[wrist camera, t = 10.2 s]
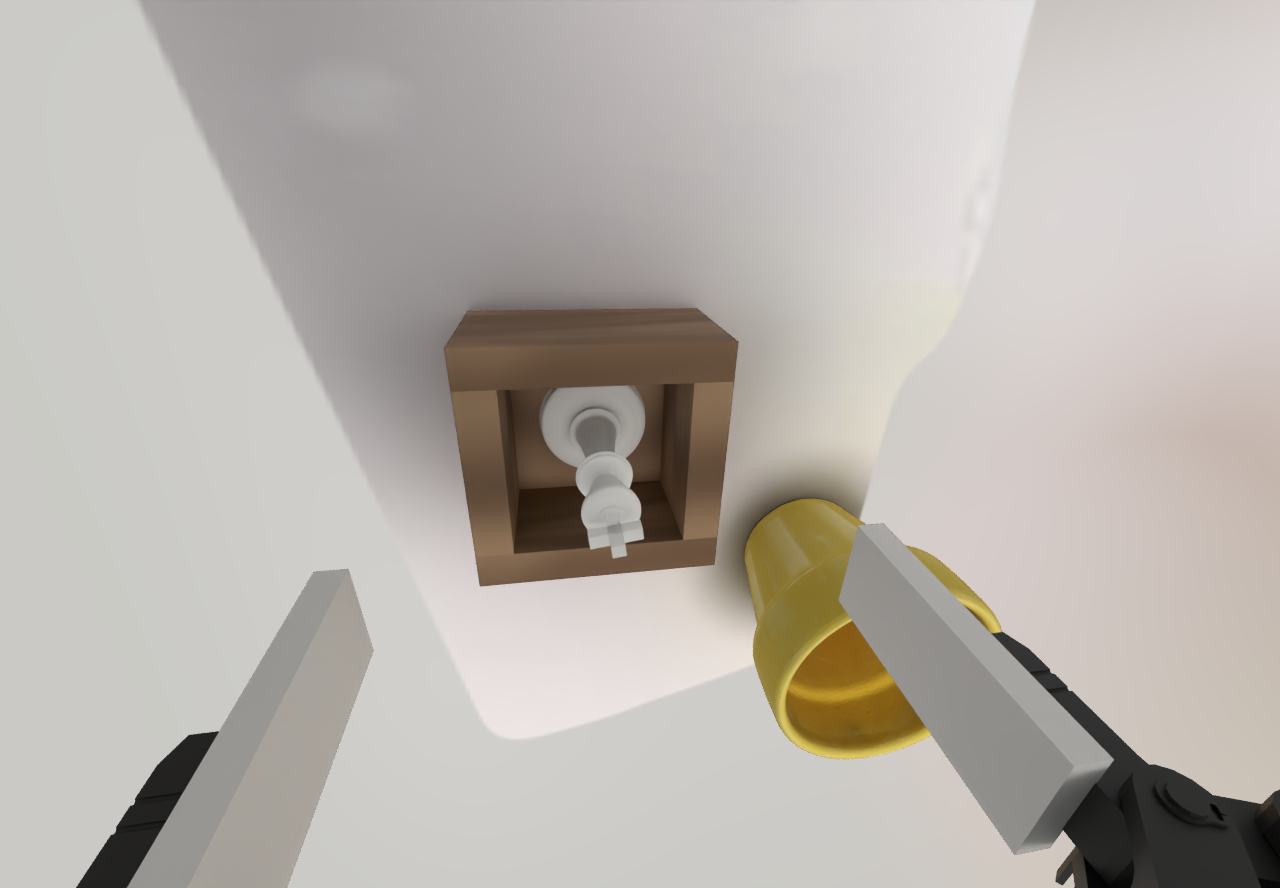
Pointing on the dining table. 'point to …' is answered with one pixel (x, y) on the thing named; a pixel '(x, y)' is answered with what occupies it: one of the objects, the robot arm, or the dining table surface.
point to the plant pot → (828, 636)
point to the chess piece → (599, 456)
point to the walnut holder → (546, 486)
